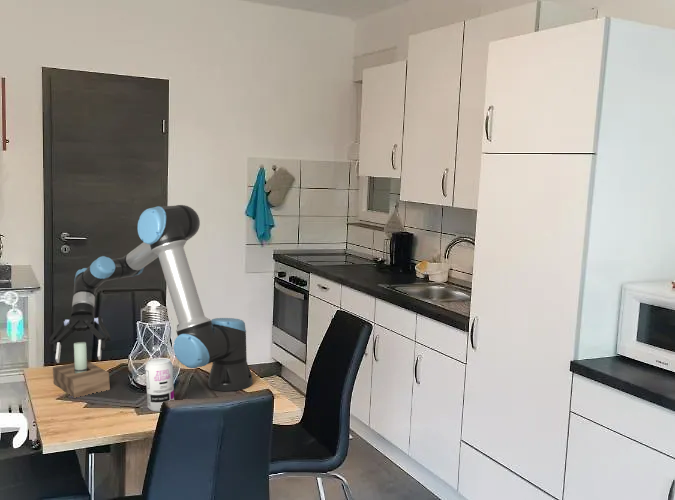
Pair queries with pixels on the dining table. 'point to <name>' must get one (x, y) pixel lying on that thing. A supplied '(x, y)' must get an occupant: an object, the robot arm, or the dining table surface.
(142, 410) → the dining table surface
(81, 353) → the peg
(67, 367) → the socket block
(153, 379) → the supplement can
